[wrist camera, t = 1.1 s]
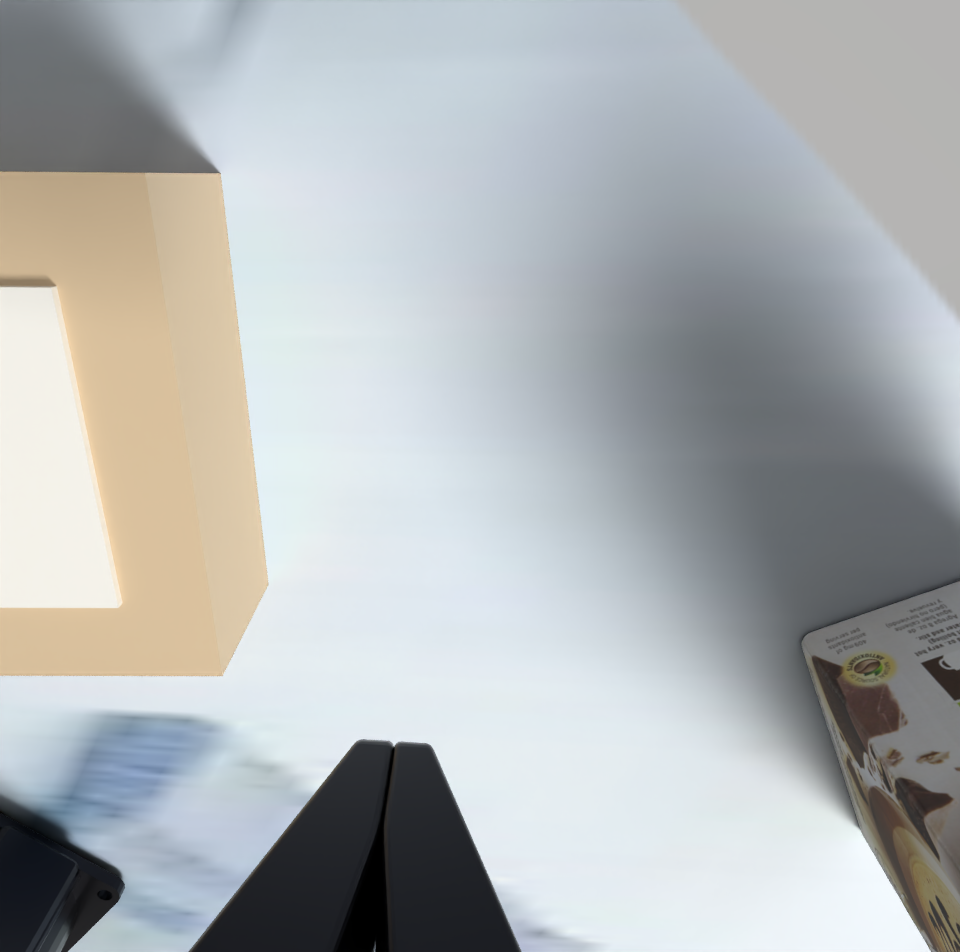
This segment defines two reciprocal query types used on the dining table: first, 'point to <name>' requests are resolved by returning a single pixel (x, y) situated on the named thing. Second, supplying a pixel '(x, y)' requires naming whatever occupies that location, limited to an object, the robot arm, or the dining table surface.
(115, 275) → the carton
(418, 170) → the dining table surface
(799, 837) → the dining table surface
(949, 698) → the coffee box
